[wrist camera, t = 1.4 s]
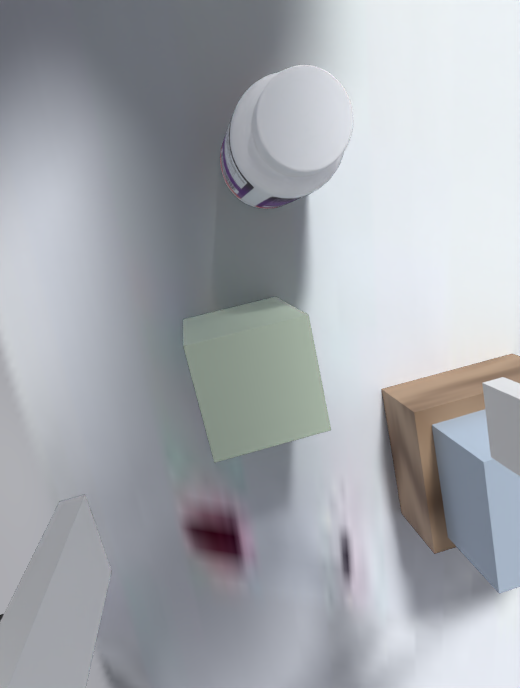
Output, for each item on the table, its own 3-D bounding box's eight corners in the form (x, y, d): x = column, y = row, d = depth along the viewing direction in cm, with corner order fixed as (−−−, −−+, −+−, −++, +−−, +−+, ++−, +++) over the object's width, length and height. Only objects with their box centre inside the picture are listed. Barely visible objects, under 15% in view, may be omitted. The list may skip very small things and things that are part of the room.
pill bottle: (321, 138, 28) (393, 85, 18) (287, 223, 29) (338, 213, 19) (239, 96, 27) (270, 15, 17) (204, 186, 27) (216, 155, 18)
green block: (182, 319, 29) (183, 346, 21) (275, 296, 29) (308, 314, 22) (206, 407, 30) (214, 462, 22) (293, 383, 31) (331, 430, 23)
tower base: (379, 387, 32) (414, 412, 27) (508, 352, 33) (563, 370, 29) (399, 511, 35) (434, 553, 30) (519, 474, 36) (572, 510, 31)
